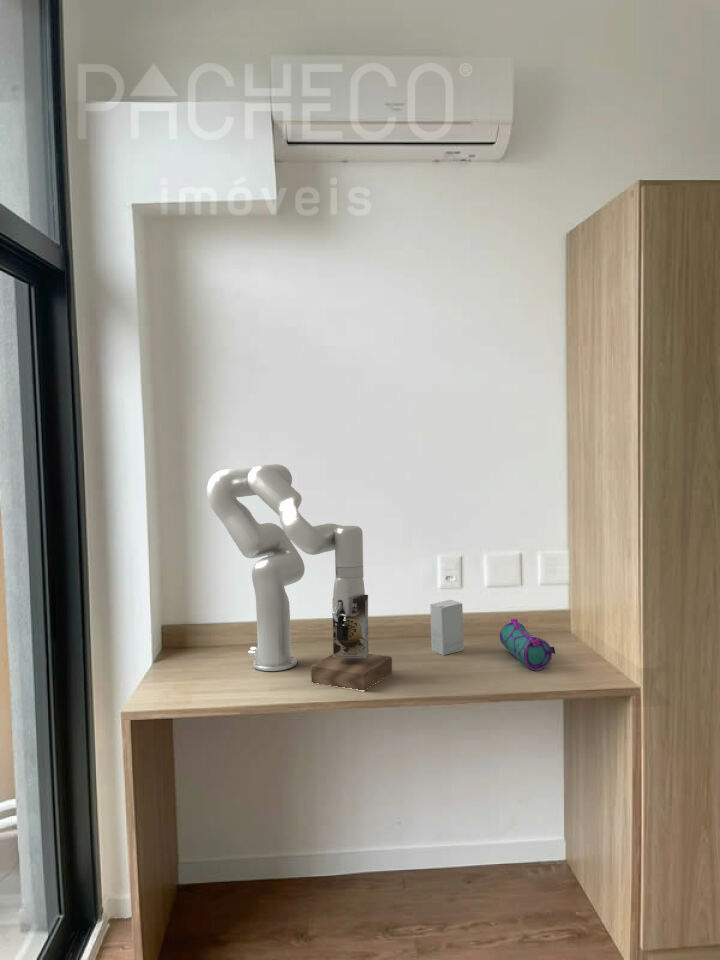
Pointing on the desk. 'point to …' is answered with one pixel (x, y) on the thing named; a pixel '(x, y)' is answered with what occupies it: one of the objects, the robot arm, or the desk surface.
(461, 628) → the skincare box
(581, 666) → the desk surface
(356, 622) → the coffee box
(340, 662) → the walnut block
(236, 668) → the desk surface
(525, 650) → the pencil case
